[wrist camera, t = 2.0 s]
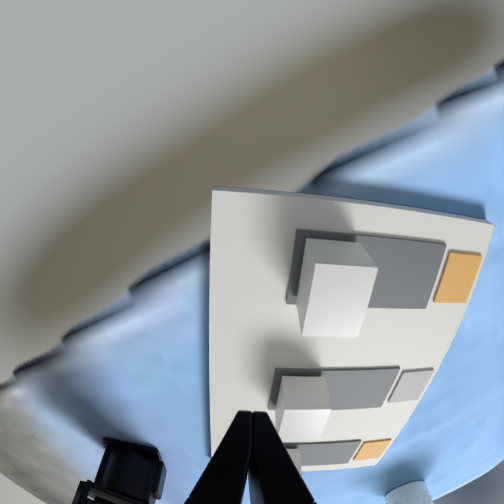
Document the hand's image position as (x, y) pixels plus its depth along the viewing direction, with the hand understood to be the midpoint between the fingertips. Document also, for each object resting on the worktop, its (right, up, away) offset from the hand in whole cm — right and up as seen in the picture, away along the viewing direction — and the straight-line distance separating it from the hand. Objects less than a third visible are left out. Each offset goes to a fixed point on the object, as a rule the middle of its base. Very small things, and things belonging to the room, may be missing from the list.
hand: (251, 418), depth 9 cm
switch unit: (+6, -5, +14) cm, 16 cm away
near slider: (+4, +4, +9) cm, 10 cm away
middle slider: (+3, -5, +13) cm, 14 cm away
